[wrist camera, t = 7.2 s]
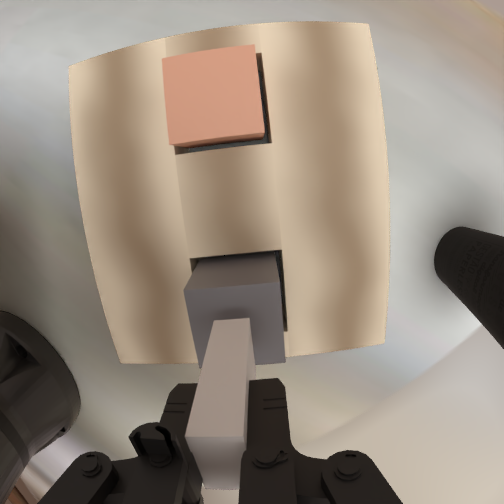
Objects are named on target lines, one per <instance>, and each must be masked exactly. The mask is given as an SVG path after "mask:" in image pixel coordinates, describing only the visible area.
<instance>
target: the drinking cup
mask: <svg viewBox="0 0 504 504" xmlns="http://www.w3.org/2000/svg"><path fill="white" fill-rule="evenodd" d="M434 264H435V270H436V273H437V275H438V277H439V278H440V280H441V281H442V282H443V283H444V284H445V285H446V286H447V287H448V288H449V289H450V290H451V291H452V292H453V293H454V294H455V295H456V296H457V297H458V298H459V299H460V300H461V301H462V303H463V304H464V305H465V306H466V307H467V308H468V309H469V310H470V311H471V312H472V313H473V314H474V316H475V317H476V318H477V319H478V320H479V321H480V322H481V323H482V325H483V326H484V327H485V328H486V329H487V330H488V331H489V332H490V334H491V335H492V336H493V337H494V338H495V339H496V341H497V342H498V343H499V344H500V345H501V347H502V348H503V349H504V237H502V236H499V235H495V234H491V233H487V232H483V231H479V230H475V229H470V228H466V227H457V228H454V229H452V230H450V231H449V232H448V233H446V234H445V235H444V237H443V238H442V239H441V241H440V243H439V244H438V247H437V249H436V253H435V260H434Z"/></svg>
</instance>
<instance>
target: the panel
mask: <svg viewBox="0 0 504 504" xmlns="http://www.w3.org/2000/svg"><path fill="white" fill-rule="evenodd" d="M252 44H255V52H256V60H257V68H258V72H259V71H261V78H262V86H263V95H264V104H265V113H266V122H267V131H268V140H269V144H258V145H248V146H239V147H230V148H222V149H214V150H207V151H199V152H193V153H190V152H189V148H186V147H179V146H173V145H169V138H168V128H167V118H166V107H165V96H164V84H163V70H162V58H166V57H171V56H176V55H181V54H187V53H192V52H198V51H204V50H211V49H218V48H225V47H233V46H242V45H252ZM69 102H70V121H71V135H72V146H73V156H74V165H75V173H76V181H77V188H78V195H79V201H80V207H81V213H82V219H83V224H84V230H85V235H86V240H87V244H88V249H89V254H90V258H91V263H92V267H93V271H94V275H95V279H96V283H97V287H98V291H99V295H100V299H101V302H102V306H103V309H104V313H105V316H106V320H107V323H108V326H109V330H110V333H111V336H112V339H113V342H114V345H115V348H116V351H117V354H118V357H119V360H120V363H128V364H179V363H198V359H197V355H196V350H195V345H194V341H193V336H192V332H191V327H190V322H189V317H188V312H187V307H186V302H185V297H184V292H183V290H184V288H185V286H186V284H187V282H188V280H189V279H190V277H191V275H192V273H193V271H194V270H195V268H196V266H197V264H198V262H199V260H200V259H201V258H203V257H208V256H219V255H229V254H240V253H250V252H261V251H271V250H279V257H280V269H281V282H282V295H283V304H282V317H283V330H284V345H285V357H291V356H301V355H309V354H318V353H326V352H333V351H340V350H347V349H354V348H360V347H367V346H373V345H378V344H384V342H385V332H386V321H387V308H388V292H389V269H390V197H389V174H388V159H387V146H386V134H385V124H384V115H383V107H382V99H381V92H380V85H379V78H378V72H377V66H376V60H375V54H374V49H373V44H372V39H371V34H370V29H369V24H364V23H349V22H319V21H305V22H274V23H259V24H248V25H238V26H229V27H221V28H214V29H208V30H201V31H195V32H190V33H184V34H179V35H174V36H169V37H165V38H160V39H156V40H152V41H148V42H144V43H140V44H136V45H132V46H129V47H125V48H122V49H118V50H115V51H112V52H108V53H105V54H102V55H99V56H96V57H93V58H90V59H87V60H84V61H82V62H79V63H76V64H74V65H71V66H69Z"/></svg>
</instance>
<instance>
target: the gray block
mask: <svg viewBox="0 0 504 504" xmlns="http://www.w3.org/2000/svg"><path fill="white" fill-rule="evenodd" d="M183 292H184V297H185V302H186V307H187V312H188V317H189V322H190V327H191V332H192V336H193V341H194V345H195V350H196V355H197V359H198V363H199V368H202V365H203V361H204V357H205V353H206V349H207V345H208V341H209V338H210V334H211V330H212V326H213V322H214V320H229V319H242V318H249V319H250V327H251V335H252V343H253V351H254V359H255V365H263V364H274V363H285V362H286V359H285V345H284V330H283V317H282V303H281V290H280V280H279V275H278V269H277V264H276V258H275V253H274V251H271V252H260V253H250V254H239V255H229V256H218V257H208V258H201V259H200V260H199V262H198V264H197V266H196V268H195V270H194V271H193V273H192V275H191V277H190V279H189V280H188V282H187V284H186V286H185V288H184V290H183Z"/></svg>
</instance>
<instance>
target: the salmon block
mask: <svg viewBox="0 0 504 504" xmlns="http://www.w3.org/2000/svg"><path fill="white" fill-rule="evenodd" d="M162 70H163V84H164V96H165V107H166V118H167V128H168V138H169V145H173V146H179V147H186V148H196V147H203V146H211V145H218V144H226V143H235V142H244V141H253V140H263V137H264V134H265V130H264V121H263V112H262V103H261V94H260V85H259V77H258V68H257V60H256V52H255V44H252V45H242V46H233V47H225V48H218V49H211V50H204V51H198V52H192V53H187V54H181V55H176V56H171V57H166V58H162Z"/></svg>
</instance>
